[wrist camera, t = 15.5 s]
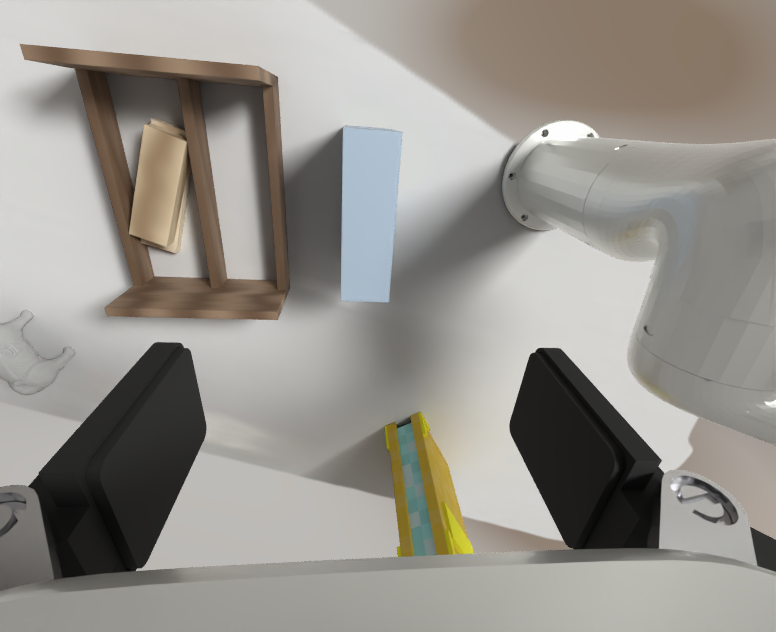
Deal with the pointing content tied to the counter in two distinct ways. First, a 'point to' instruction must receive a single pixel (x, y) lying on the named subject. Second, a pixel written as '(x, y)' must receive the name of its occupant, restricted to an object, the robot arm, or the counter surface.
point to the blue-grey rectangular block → (368, 211)
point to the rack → (217, 291)
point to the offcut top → (159, 185)
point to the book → (424, 493)
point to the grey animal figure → (26, 359)
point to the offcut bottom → (176, 244)
